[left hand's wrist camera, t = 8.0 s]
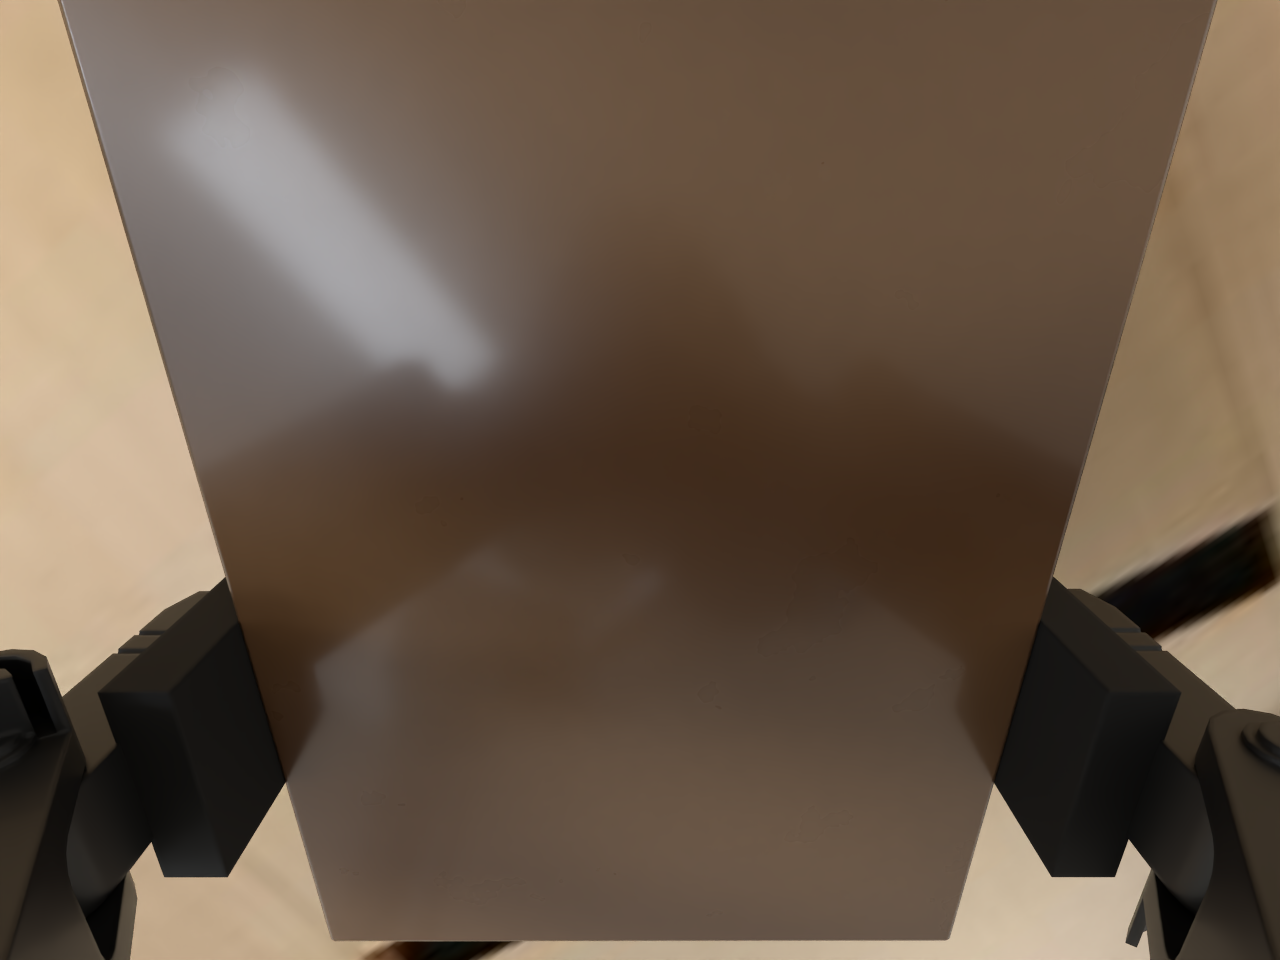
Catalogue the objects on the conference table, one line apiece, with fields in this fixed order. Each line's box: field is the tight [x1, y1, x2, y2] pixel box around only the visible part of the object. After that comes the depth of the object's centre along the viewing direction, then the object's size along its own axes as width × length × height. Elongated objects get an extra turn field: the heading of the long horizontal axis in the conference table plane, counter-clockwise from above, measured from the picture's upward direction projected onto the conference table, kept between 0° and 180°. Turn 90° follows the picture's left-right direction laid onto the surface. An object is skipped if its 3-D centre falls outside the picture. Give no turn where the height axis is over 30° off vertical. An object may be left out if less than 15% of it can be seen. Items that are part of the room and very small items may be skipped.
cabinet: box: [58, 0, 1217, 941], centre depth 11 cm, size 18×10×9 cm, turn 0°
